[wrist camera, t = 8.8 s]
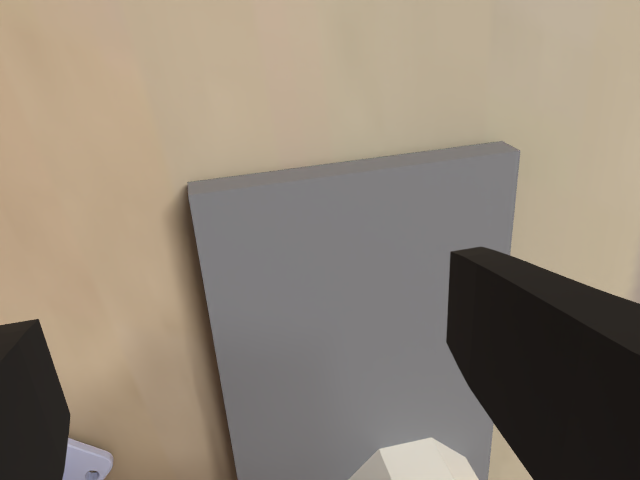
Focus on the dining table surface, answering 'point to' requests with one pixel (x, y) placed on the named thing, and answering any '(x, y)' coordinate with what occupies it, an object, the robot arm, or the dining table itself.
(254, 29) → the dining table surface
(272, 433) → the gray board
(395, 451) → the cream ring
